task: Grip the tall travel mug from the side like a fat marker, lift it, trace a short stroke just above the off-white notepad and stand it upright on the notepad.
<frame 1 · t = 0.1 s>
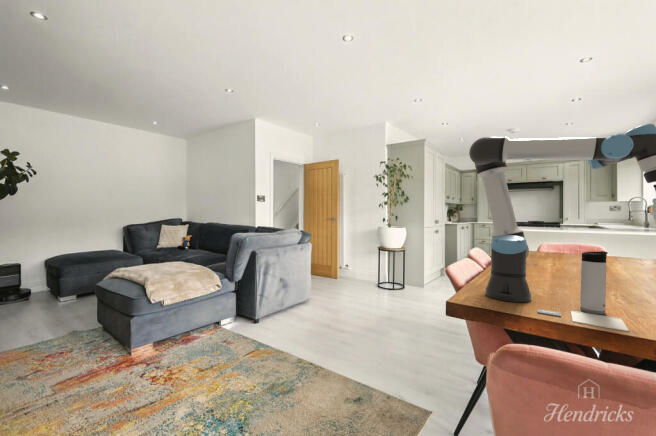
notepad: (597, 320, 91), on the table
travel mug: (593, 311, 100), on the table
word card: (549, 313, 97), on the table
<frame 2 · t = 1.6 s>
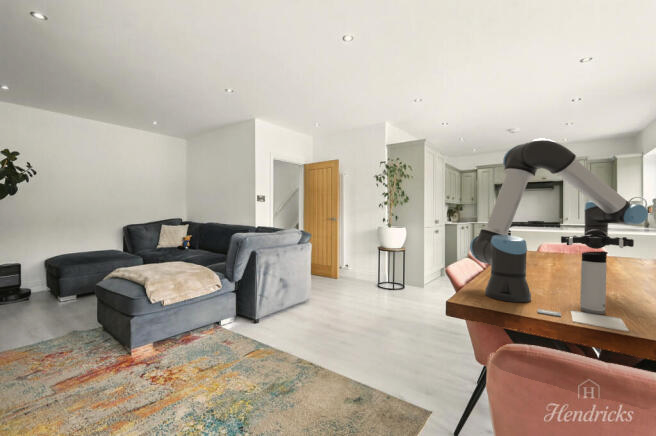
hand: (594, 242, 107), 22 cm above the table, tool horizontal, fingers open, 13 cm apart
nothing on the table moved.
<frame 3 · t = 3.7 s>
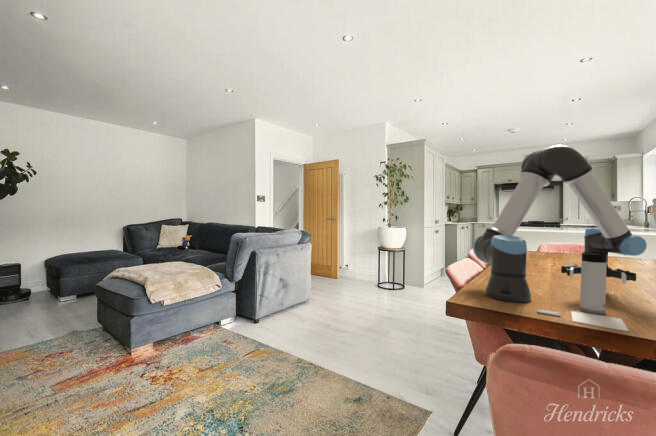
hand: (596, 276, 103), 11 cm above the table, tool horizontal, fingers open, 13 cm apart
nothing on the table moved.
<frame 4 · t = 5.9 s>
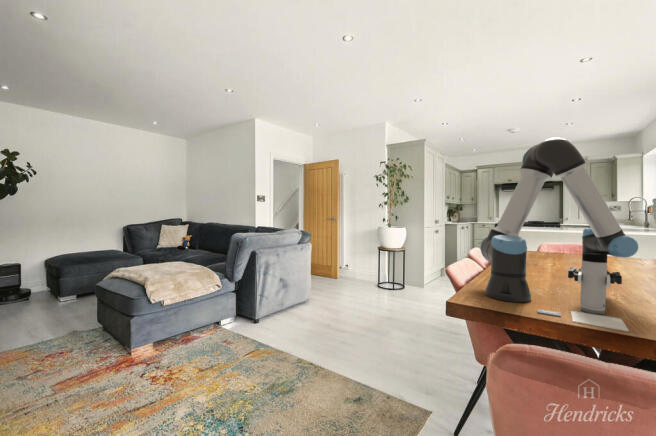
hand: (593, 280, 96), 11 cm above the table, tool horizontal, fingers closed on travel mug, 6 cm apart
travel mug: (593, 311, 100), on the table, touching gripper
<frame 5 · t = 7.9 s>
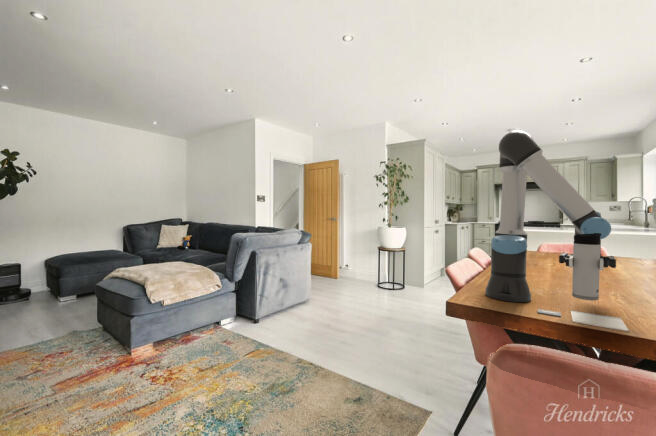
hand: (585, 264, 89), 17 cm above the table, tool horizontal, fingers closed on travel mug, 6 cm apart
travel mug: (585, 298, 93), point 6 cm above the table, touching gripper
when the fingers open (12 cm above the table, at t = 9.7 s): travel mug stays where it is, resting on notepad.
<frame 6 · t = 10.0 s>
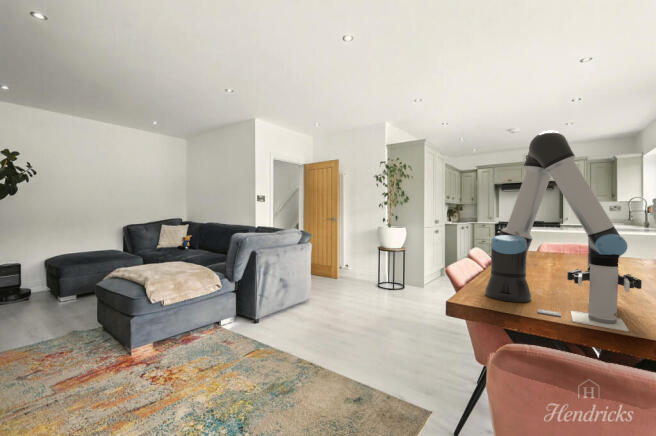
hand: (602, 284, 87), 12 cm above the table, tool horizontal, fingers open, 9 cm apart
travel mug: (602, 321, 90), resting on notepad
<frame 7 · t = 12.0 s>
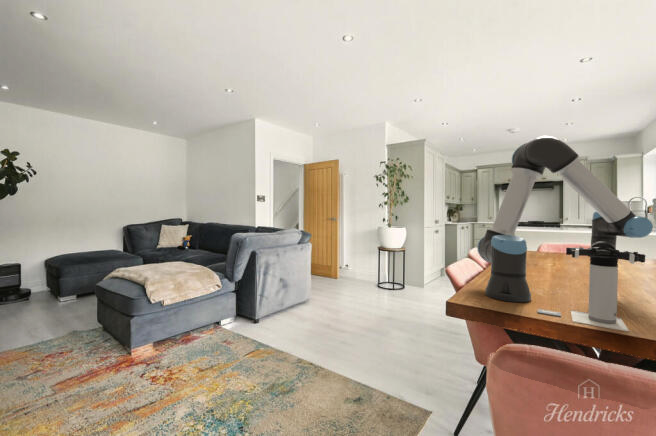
hand: (603, 256, 99), 18 cm above the table, tool horizontal, fingers open, 13 cm apart
nothing on the table moved.
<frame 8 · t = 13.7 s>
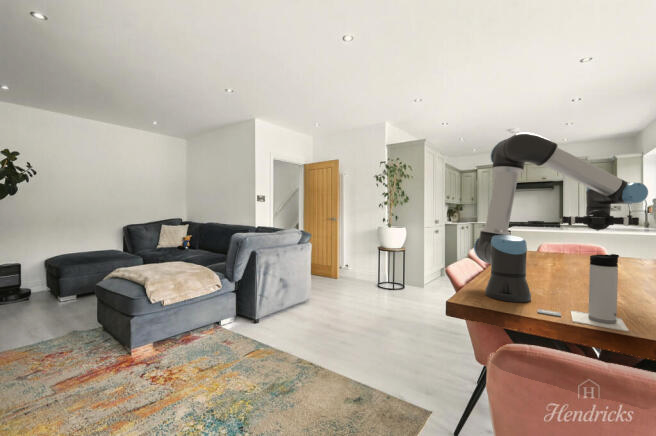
hand: (598, 220, 102), 30 cm above the table, tool horizontal, fingers open, 13 cm apart
nothing on the table moved.
at the end: travel mug inside the target area on the notepad (1.3 cm from its centre), point 0.1 cm above the notepad's base; travel mug tilted 0°; the gripper is holding nothing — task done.
